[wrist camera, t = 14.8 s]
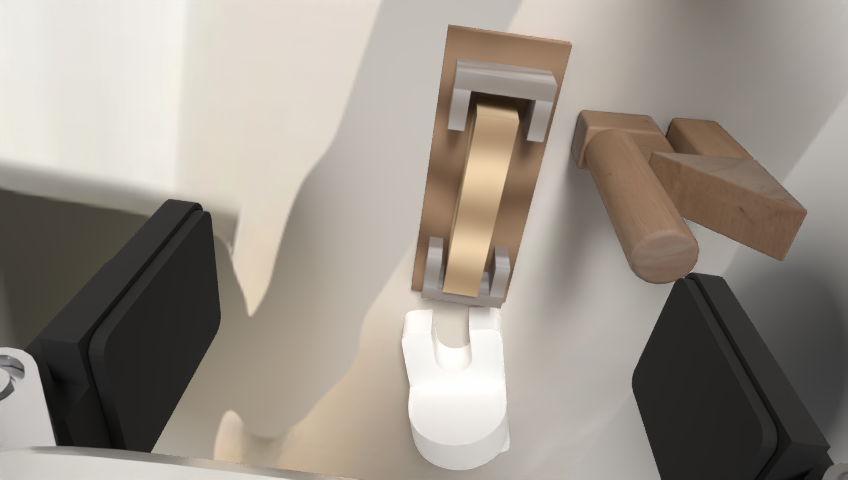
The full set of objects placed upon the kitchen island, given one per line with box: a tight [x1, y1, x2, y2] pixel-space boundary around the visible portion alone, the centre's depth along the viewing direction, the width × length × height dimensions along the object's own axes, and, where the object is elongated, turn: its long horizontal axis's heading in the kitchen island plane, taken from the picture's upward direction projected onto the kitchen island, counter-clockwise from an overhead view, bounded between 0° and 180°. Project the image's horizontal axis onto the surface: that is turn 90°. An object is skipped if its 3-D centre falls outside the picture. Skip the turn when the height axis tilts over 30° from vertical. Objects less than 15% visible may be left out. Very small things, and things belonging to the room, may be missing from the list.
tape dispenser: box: [402, 307, 510, 470], centre depth 56 cm, size 10×18×11 cm, turn 7°
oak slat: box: [443, 96, 519, 297], centre depth 46 cm, size 16×3×4 cm, turn 172°
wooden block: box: [572, 110, 807, 284], centre depth 37 cm, size 4×11×18 cm, turn 86°
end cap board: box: [411, 25, 572, 309], centre depth 46 cm, size 24×9×4 cm, turn 173°
